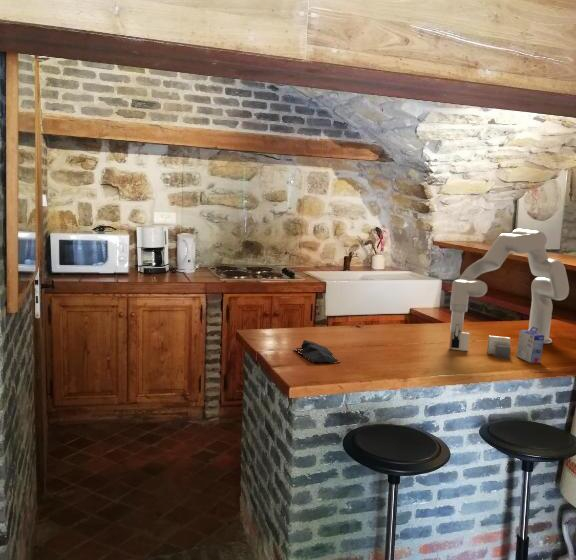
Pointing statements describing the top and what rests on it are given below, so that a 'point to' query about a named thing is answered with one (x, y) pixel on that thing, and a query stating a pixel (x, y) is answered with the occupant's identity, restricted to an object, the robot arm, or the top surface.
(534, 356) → the ink cartridge box
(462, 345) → the grey flat block
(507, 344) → the ticket holder
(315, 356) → the dark fabric pouch
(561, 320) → the top surface
